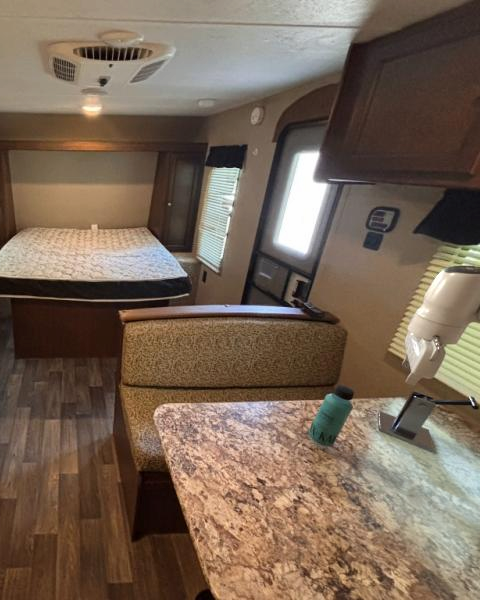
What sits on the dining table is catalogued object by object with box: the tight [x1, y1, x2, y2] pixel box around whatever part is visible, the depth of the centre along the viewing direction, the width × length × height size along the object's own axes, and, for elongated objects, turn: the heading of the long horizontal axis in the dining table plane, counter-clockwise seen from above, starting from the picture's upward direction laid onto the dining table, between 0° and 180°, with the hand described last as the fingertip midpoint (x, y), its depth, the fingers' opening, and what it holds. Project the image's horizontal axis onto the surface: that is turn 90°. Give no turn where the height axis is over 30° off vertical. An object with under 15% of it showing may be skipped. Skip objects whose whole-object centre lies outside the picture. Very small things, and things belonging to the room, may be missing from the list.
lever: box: [413, 396, 480, 410], centre depth 91 cm, size 12×5×2 cm, turn 49°
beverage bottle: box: [308, 384, 355, 447], centre depth 90 cm, size 6×7×20 cm
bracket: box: [377, 389, 437, 453], centre depth 96 cm, size 12×10×14 cm
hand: (407, 375), depth 83 cm, fingers open, 8 cm apart
